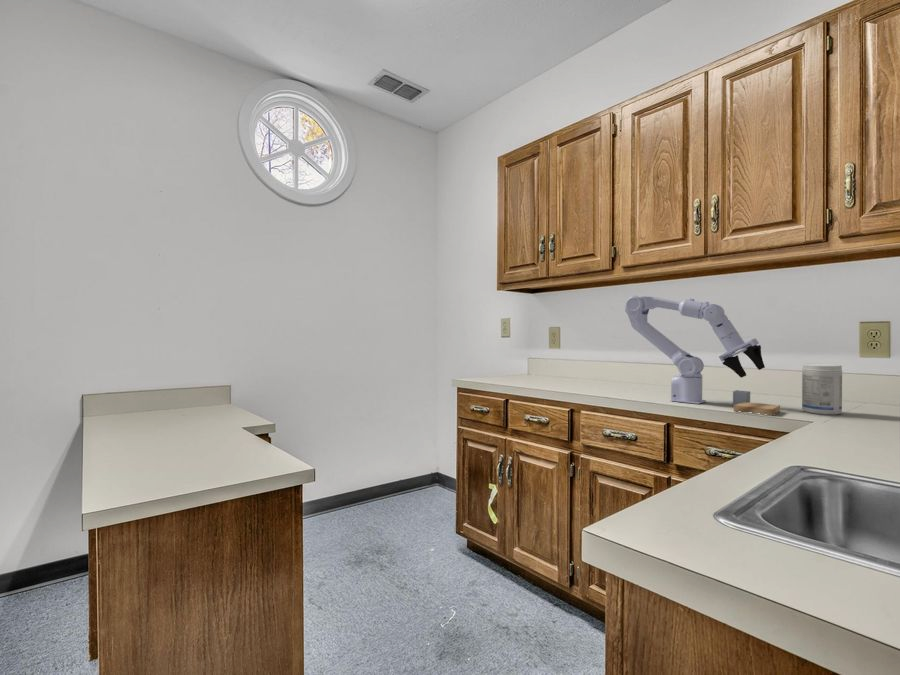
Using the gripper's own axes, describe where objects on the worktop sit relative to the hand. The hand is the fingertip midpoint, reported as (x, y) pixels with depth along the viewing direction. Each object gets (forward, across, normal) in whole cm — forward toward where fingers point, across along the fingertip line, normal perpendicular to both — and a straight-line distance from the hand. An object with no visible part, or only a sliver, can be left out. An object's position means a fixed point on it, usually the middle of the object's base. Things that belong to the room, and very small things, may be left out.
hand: (752, 372), depth 149 cm
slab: (+11, -1, +9) cm, 14 cm away
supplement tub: (+19, -6, -8) cm, 21 cm away
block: (+8, +7, +4) cm, 12 cm away
